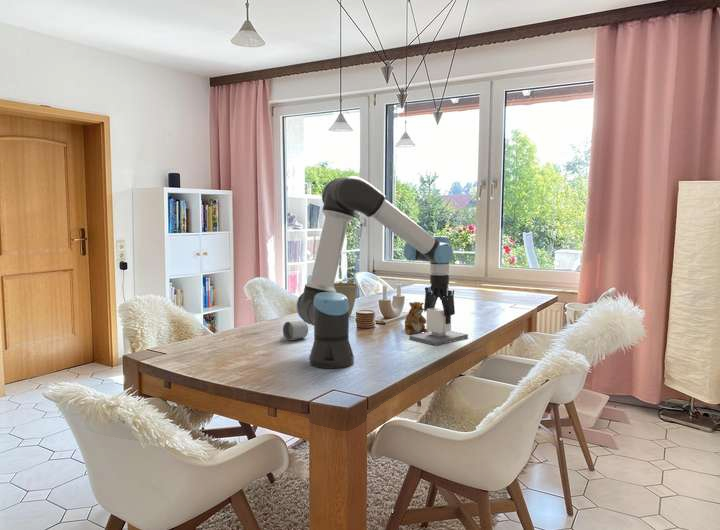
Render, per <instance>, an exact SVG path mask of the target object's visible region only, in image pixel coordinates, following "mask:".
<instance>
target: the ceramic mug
mask: <svg viewBox="0 0 720 530" xmlns="http://www.w3.org/2000/svg"><path fill="white" fill-rule="evenodd" d="M282 333H283V337H284V339H285V340H286V341H288V340H291V341H295V340H300V339H301V338H302V339H304V338H306V337H307V336H308V334H309V326H308V323H306V322H305V321H304V320H294V321H293V320H289V321H288V320H287V321H286V322H284V324H283V326H282Z"/></svg>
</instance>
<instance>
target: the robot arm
mask: <svg viewBox="0 0 720 530" xmlns="http://www.w3.org/2000/svg"><path fill="white" fill-rule="evenodd" d="M321 201H322V203H323V207H322V213H323V215H324V221H323V225H322V230H321V233H320V238H319V242H318V247H317V251H316V256H315V260H314V263H313V269H312V273H311V278H310V281H309V282H307V283H306V284H305V285H304V289H303V293H301V294H300V295H299V296H298V298H297V300H296V311H297V314H298V317H299V318H300V319H301V320H302V321H304V322H305V323H306V324H307V325H312V326H313V327H314V328H313V333H314V334H313V335H314V339H313V344H312V347H311V350H310V354H309V357H308V358H309V359H308V361H309V363H308V364H309V365H310V364H311V365H310V366H312V367H314V366H315V367H314V368H319V369H340V368H342V369H343V368H346V367H350V366H352V365H353V364H354V363H355V360H354V359H355V357H354V356H355V355H354V353H353V349H352V346H351V343H350V339H349V331H350V330H349V325H350V324H349V320H350V319H349V318H350V316H349V304H348V298H347V297H346V296H345V295H343V294H341V293H336V290H335V288H334V283H336V282H335V281H336V278H337V277H336V276H337V273H338V268H339V264H340V260H341V256H342V251H343V247H344V242H345V239H346V235H347V229H348V225H349V222H350V221H352V220H353V219H354V217H355V213H356V212H358V213H361V214H362V215H364V216H366V217H368V218H373V219H374V220H375V221H377V222H379V223H380V224H382V225H383V226H384V227H385V228H387V229H388V230H390V231H391V232H392V233H394V235H396V236H397V237H399V238H400V239H401V240H403V241H404V242H405V244H404V246H403V256H404V258H405V260H407V261H409V262H411V261H413V262H415V261H416V262H417V261H418V262H419V261H420V262H427V263H428V262H429V263H430V264H429V265H430V269H429V270H430V271H429V272H430V275H429V277H430V278H429V279H430V280H429V283H430V286H426V287H425V288H424V291H425V296H424V304H423V309H424V310H423V311H425V312H427V309H428V308H434V307H436V304H437V301H438V298H439V300H440V301H441V305H442V308H443V309H444V313H445V315H444V316H443V332H448V331H449V324H450V316H451V317H452V315H453V316H454V315H455V314H456V311H455V310H456V309H455V297H454V295H455V290H454V289H450V288H449V283H450V275H449V273H450V261H451V260H452V258H453V256H454V250H453V248H452V246H451V245H450V238H449V236H447V235H432V234H430V233H429V232H428V231H426V230H425V228H423V227H421V226H420V225H419V224H418V223H416V222H415V221H414V220H412V219H411V218H410V217H409V216H407V215H406V214H405V213H404V212H402V211H401V210H399V209H398V208H397V207H396V206H395V205H393V204H392V203H391V202H390V201H388V200H387V199H386V195H385V194H384V193H383V192H381V191H380V190H379V189H377V188H376V187H375V186H374V185H373V184H371V183H369V182H368V181H366V180H365V179H363V178H361V177H359V176H354V175H353V176H351V175H350V176H346V177H338V178H334V179H332V180H330V181H328V182H327V183H326V184H325V186H324V187H323V189H322V192H321Z"/></svg>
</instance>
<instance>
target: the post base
mask: <svg viewBox="0 0 720 530" xmlns="http://www.w3.org/2000/svg"><path fill="white" fill-rule="evenodd" d="M408 337H409V338H408V339H409V340H411V341H415V340H416V341H415V342H419V341H420V342H419V343H423V342H425V343H424V344H427V343H429V344H428V345H431V344H434V345H433V346H435V345H436V346H439V345H438V344H440V345H443V344H442V343H444V344H447V343H446V342H448V343H451V342H450V341H453V342H455V341H454V340H457V341H460V340H459V339H461V340H463V339H462V338H465V339H467V338H466V337H468V338H469V333H465V332H464V333H463V332H460V331H459V332H458V331H456V330H455V331H454V330H451V331H448V332H443V333H436V332H431V331H429V332H424V333H421V332H419V333H415V334H409V336H408Z"/></svg>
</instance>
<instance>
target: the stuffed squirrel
mask: <svg viewBox="0 0 720 530" xmlns="http://www.w3.org/2000/svg"><path fill="white" fill-rule="evenodd" d="M408 304H409V306H410V308H409V310H408V313H407V315H406V317H405V320H404V332H405V334H407V335H413V333H415V334H419V333H421V332H429V331H427V330H426V325H427V318H425V316H423V312H424V313H426V311H425V310H424V307H423V306H424V304H425V302H419V301H413V302H411V301H410V302H409V303H408ZM418 332H419V333H418Z"/></svg>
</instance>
